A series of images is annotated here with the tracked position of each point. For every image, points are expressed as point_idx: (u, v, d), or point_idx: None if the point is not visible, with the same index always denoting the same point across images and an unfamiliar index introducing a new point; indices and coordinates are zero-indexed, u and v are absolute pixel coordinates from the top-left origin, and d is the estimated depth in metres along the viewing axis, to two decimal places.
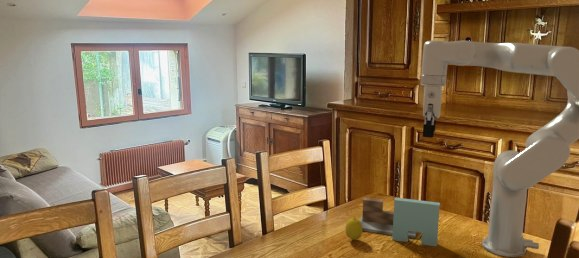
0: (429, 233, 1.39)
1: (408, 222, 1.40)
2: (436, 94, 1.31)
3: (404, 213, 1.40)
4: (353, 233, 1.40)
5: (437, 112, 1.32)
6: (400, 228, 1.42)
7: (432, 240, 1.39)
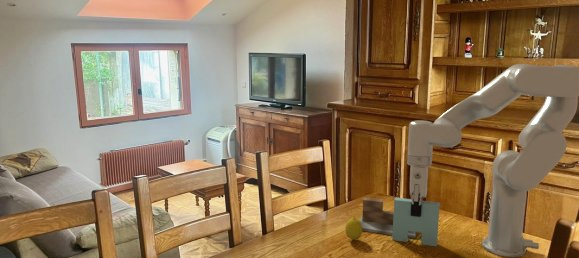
0: (429, 233, 1.39)
1: (408, 222, 1.40)
2: (422, 175, 1.33)
3: (404, 213, 1.40)
4: (353, 233, 1.40)
5: (423, 192, 1.33)
6: (400, 228, 1.42)
7: (432, 240, 1.39)
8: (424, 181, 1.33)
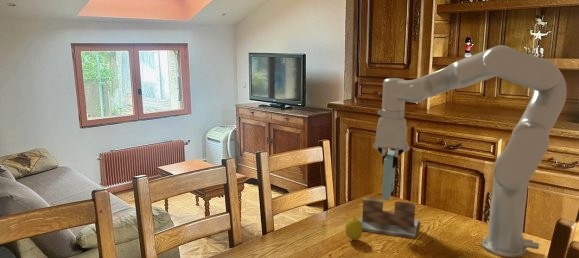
0: None
1: None
2: (377, 125, 1.48)
3: None
4: (353, 233, 1.40)
5: (375, 141, 1.49)
6: None
7: None
8: None
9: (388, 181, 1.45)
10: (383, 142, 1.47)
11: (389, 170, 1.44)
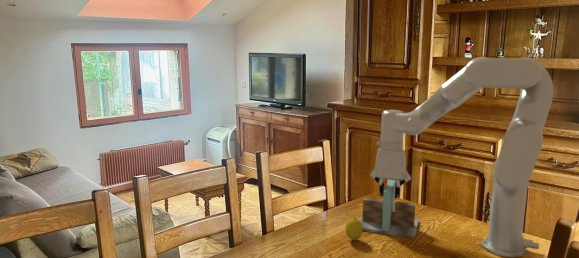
0: None
1: None
2: None
3: None
4: (353, 233, 1.40)
5: (375, 171, 1.50)
6: None
7: None
8: (376, 161, 1.50)
9: (388, 212, 1.46)
10: (382, 173, 1.49)
11: (389, 202, 1.46)
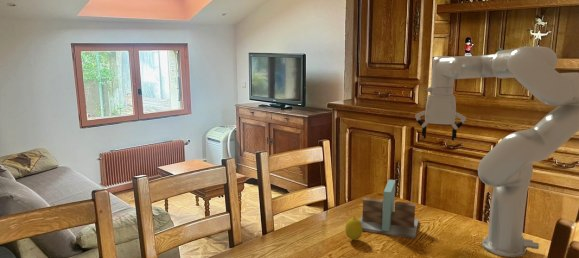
0: None
1: None
2: None
3: None
4: (353, 233, 1.40)
5: (425, 117, 1.54)
6: None
7: None
8: (426, 107, 1.53)
9: (388, 212, 1.46)
10: (433, 118, 1.52)
11: (389, 202, 1.46)
